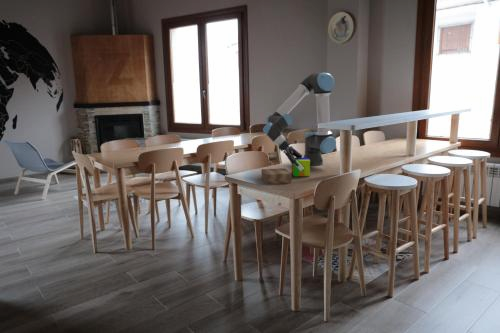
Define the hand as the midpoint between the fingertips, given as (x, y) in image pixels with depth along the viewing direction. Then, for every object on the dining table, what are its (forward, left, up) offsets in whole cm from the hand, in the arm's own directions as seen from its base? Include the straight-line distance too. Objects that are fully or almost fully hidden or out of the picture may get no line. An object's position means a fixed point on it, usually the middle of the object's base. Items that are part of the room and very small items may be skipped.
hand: (304, 167), depth 252 cm
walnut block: (+20, +12, -5) cm, 24 cm away
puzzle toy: (+2, -1, -5) cm, 5 cm away
